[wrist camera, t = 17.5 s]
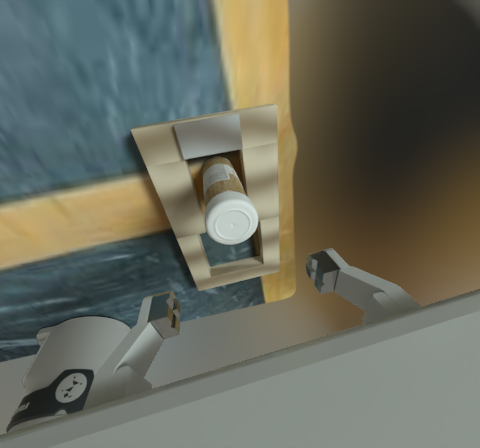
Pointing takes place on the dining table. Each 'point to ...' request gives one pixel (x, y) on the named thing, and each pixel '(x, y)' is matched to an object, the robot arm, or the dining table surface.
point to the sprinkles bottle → (226, 203)
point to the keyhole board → (184, 192)
